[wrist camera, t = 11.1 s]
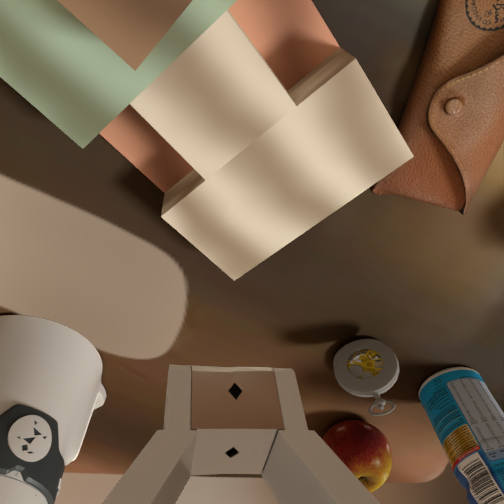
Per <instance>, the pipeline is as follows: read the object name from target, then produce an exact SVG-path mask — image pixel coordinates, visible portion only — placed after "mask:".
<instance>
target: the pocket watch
mask: <svg viewBox="0 0 504 504" xmlns="http://www.w3.org/2000/svg"><path fill="white" fill-rule="evenodd" d="M333 366H334V373H335V377H336V379H337V381H338V383H339V385H340V386H341V387H342V388H343V389H344V390H345V391H347V392H348V393H350V394H352V395H355V396H359V397H373V396H374V397H375V399H376V400H375V401H374V402H373V405H371V406H370V407H369V410H368V412H369V413H370V414H371V415H375V416H381V415H385V414H388V413H390V412H391V411H393V410H394V409H395V404H394V403H393V402H392V401H386V400H385V399H382V398H380V394H382V393H385V392H386V391H388V390H389V389H390V388H391V387H392V386H393V385H394V383H395V382H396V381H397V378H398V375H399V363H398V359H397V357H396V355H395V353H394V352H393V351H392V350H391V349H390V348H389V347H388V346H387V345H385V344H384V343H382V342H380V341H378V340H374V339H360V340H356V341H353V342H351V343H348V344H346V345H345V346H343V347H342V348H341V349H340V350H339V351H338V352H337V353H336V355H335V357H334V360H333ZM385 403H390V404H392V405H393V406H392V408H391V409H390V410H389V411H387V412H384V413H373V412H371V409H372V408H373V407H374V406H375V407H379V409H381V410H382V409H383V408H384V405H385Z"/></svg>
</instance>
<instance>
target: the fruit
mask: <svg viewBox="0 0 504 504" xmlns="http://www.w3.org/2000/svg"><path fill="white" fill-rule="evenodd" d="M322 440H323V441H324V442H325V443H326V444H327V445H328V446H329V447H330V448H331V450H332V451H333V452H334V453H335V454H336V455H337V456H338V457H339V459H340V460H341V461H342V462H343V463H344V464H345V465H346V466H347V467H348V469H349V470H350V471H351V472H352V473H353V474H354V475H355V476H356V477H357V479H358V480H359V481H360V482H361V483H362V484H363V485H364V486H365V487H366V489H367V490H368V491H369V492H370V493H371V492H373V491H375V490H376V489H378V488H379V487H380V486H381V485H382V484H383V483H384V482H385V481H386V479H387V478H388V476H389V474H390V471H391V464H392V456H391V449H390V445H389V443H388V441H387V439H386V437H385V436H384V434H383V433H382V432H381V431H380V430H378V429H377V428H376V427H374V426H373V425H371V424H369V423H366V422H363V421H358V420H346V421H342V422H339V423H337V424H335V425H333V426H332V427H330V428H329V429H328V430H327V432H326V433H325V434H324V436H323V438H322Z"/></svg>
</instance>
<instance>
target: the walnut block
mask: <svg viewBox="0 0 504 504" xmlns="http://www.w3.org/2000/svg"><path fill="white" fill-rule="evenodd" d="M57 1H59V2H60V3H61V4H62V5H63V6H64V7H65V8H66V9H67V10H68V11H70V12H71V13H72V14H73V15H74V16H75V17H76V18H77V19H78V20H80V21H81V22H82V23H83V24H84V25H85V26H86V27H87V28H88V29H89V30H91V31H92V32H93V33H94V34H95V35H96V36H97V37H98V38H99V39H100V40H102V41H103V42H104V43H105V44H106V45H107V46H108V47H109V48H110V49H112V50H113V51H114V52H115V53H116V54H117V55H118V56H119V57H120V58H121V59H123V60H124V61H125V62H126V63H127V64H128V65H129V66H130V67H131V68H132V69H134V70H135V71H136V70H137V68H138V67H139V66H140V65H141V63H142V62H143V61H144V60H145V59H146V57H147V56H148V55H149V54H150V52H151V51H152V50H153V49H154V47H155V46H156V45H157V44H158V42H159V41H160V40H161V39H162V38H163V36H164V35H165V34H166V33H167V31H168V30H169V29H170V28H171V26H172V25H173V24H174V23H175V21H176V20H177V19H178V18H179V17H180V15H181V14H182V13H183V12H184V10H185V9H186V8H187V7H188V5H189V4H190V3H191V2H192V0H57Z"/></svg>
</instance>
